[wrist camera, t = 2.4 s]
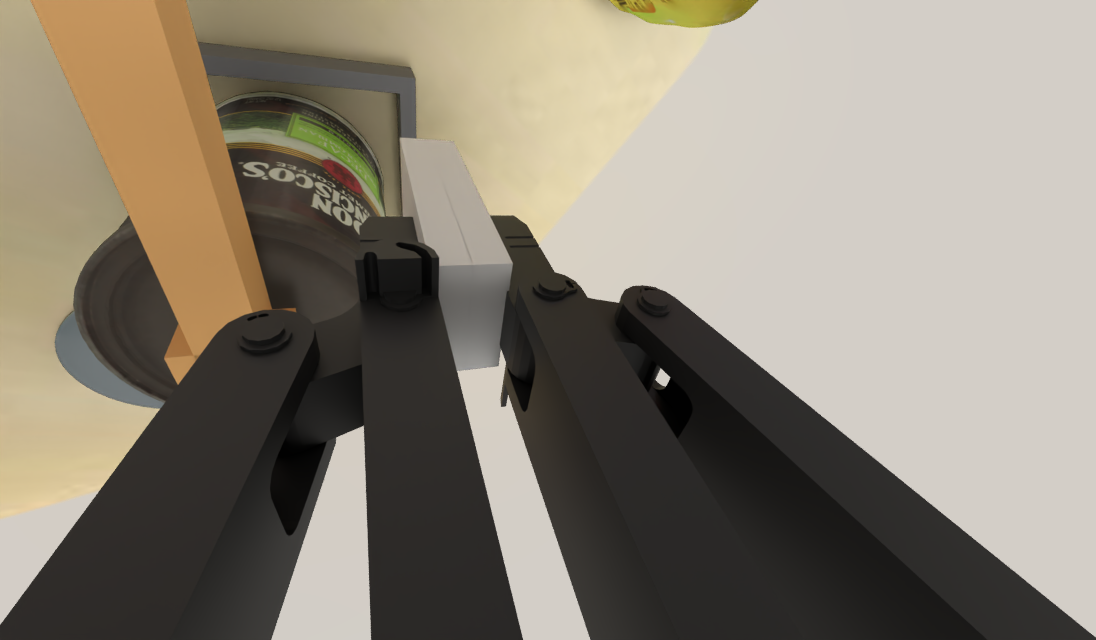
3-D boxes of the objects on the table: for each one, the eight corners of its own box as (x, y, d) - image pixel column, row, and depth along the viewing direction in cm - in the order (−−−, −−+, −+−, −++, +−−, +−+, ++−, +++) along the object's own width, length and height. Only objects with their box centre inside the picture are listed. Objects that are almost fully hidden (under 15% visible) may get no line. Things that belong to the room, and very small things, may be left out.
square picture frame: (190, 282, 29) (180, 306, 27) (88, 29, 20) (62, 39, 18) (415, 274, 33) (418, 293, 32) (410, 67, 25) (415, 78, 23)
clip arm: (212, 382, 16) (195, 441, 14) (-173, -481, 6) (-413, -669, 4) (310, 372, 17) (306, 425, 15) (136, -366, 7) (58, -471, 5)
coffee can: (254, 42, 22) (177, 140, 12) (417, 178, 29) (452, 311, 19) (146, 187, 24) (8, 366, 15) (320, 280, 31) (307, 445, 21)
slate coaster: (103, 415, 33) (101, 418, 32) (17, 297, 26) (14, 299, 26) (273, 394, 36) (273, 397, 36) (238, 287, 30) (237, 289, 29)
